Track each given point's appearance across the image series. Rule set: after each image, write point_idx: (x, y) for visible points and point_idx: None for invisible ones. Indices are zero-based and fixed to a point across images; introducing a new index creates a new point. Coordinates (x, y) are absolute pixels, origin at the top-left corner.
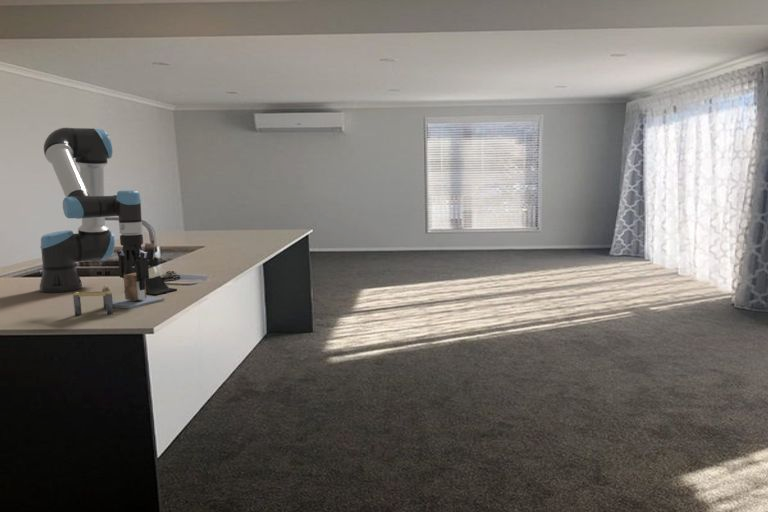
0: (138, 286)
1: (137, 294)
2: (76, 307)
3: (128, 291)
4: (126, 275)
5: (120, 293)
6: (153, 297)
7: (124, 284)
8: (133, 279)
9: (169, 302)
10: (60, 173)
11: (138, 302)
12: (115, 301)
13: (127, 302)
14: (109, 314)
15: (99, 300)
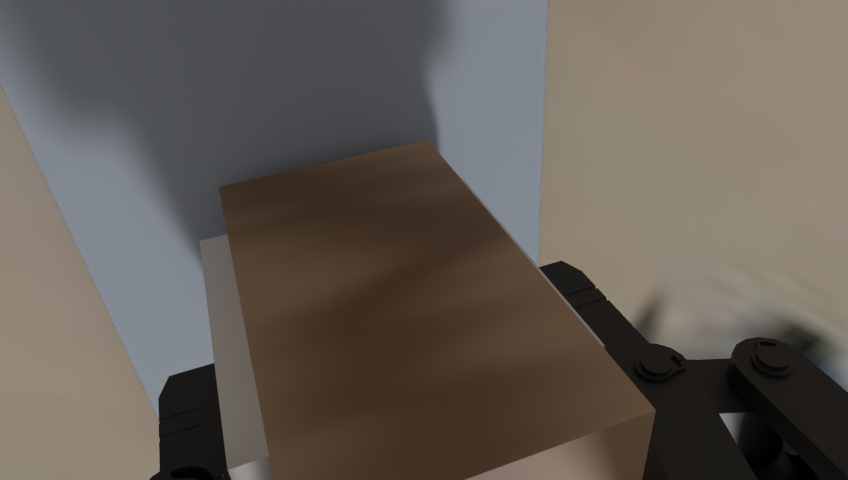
0: (220, 393)
1: (232, 279)
2: None
3: (385, 222)
4: (548, 439)
5: (813, 286)
6: None
7: (525, 266)
8: (269, 455)
9: (15, 472)
10: None
11: (194, 209)
12: (537, 41)
13: (332, 112)
14: None
15: (823, 11)
